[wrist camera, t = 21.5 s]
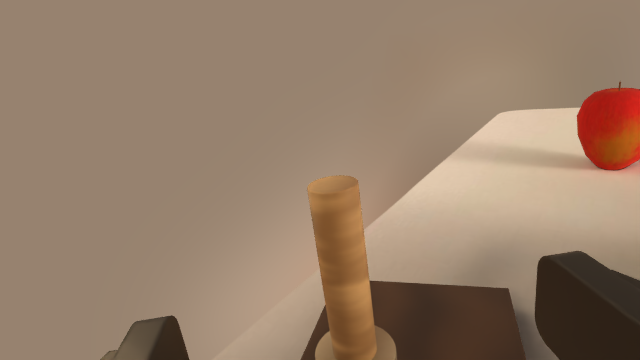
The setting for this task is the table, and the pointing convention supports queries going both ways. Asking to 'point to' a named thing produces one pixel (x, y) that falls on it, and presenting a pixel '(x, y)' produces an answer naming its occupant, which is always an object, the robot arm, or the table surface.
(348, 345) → the wooden peg stand
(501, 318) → the board
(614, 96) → the apple
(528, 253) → the table surface
